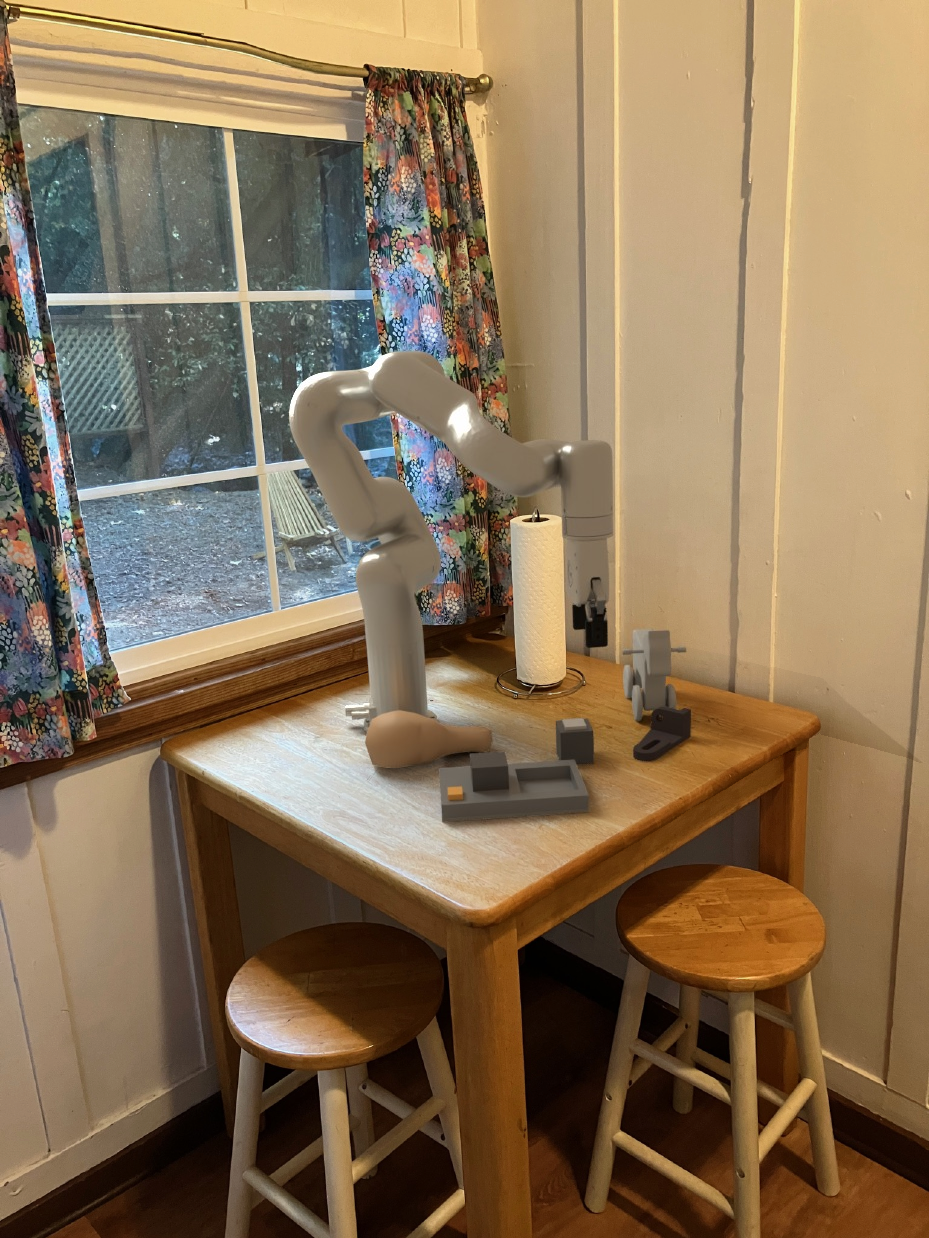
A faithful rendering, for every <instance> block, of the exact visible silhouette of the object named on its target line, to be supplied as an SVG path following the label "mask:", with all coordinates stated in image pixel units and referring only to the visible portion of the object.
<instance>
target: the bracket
mask: <svg viewBox="0 0 929 1238" xmlns="http://www.w3.org/2000/svg"><path fill="white" fill-rule="evenodd" d="M691 727H692V709H690V708H686V707H683V708H682V709H673V708H668V707H659V708H657V709H656V710H654V711H652V712H651V714H650V729H649V730H648V732H647V733H646V734H645V735H644V737H643V738H642V739H641V740H640V741H639V742H638V743H637V744H635V745H633V747H632V754H633V755H632V756H633V759H635V760H636V759H637V760H636V761H639V762H647V763H648V762H654V761H657V760H658V759H659V758H661V757H662V756H664V755H666V754H667V753H670V751H672V750H673V749H675V748H677V747H678V746H680V745H681V744H682V743H684V742H686V741H687V740H689V739H690V738H691V737H692V733H691V732H692V728H691Z"/></svg>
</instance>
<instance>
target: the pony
mask: <svg viewBox="0 0 929 1238" xmlns="http://www.w3.org/2000/svg"><path fill="white" fill-rule="evenodd" d="M671 646H672V645H671V631H670V630H669V629H668V630H667V629H666V630H665V629H664V630H654V629H653V628H646V629H645V628H644V629H634V630H632V648H622V655H623V656H624V655H625V656H626V655H632V667H631V665H630V664H625V665H624V666H623V670H622V671H623V672H622V682H623V684H622V685H623V692H624V696H625V698H626V699H631V707H632V714H633V718H634V720H635V721H636V722H640V721H642V719H643V715H644V713H643V712H644V711H647V712H648V711H652V712H653V711H654V710H656V709H657V708H659V707H668V708H673V709H677V705H678V704H677V694H676V689H675V686H674V685H673V684H672V683H668V684H667V677H670V676H671V675H672V653H686V652H687V647H686V646H677V647H671ZM677 710H678V709H677Z"/></svg>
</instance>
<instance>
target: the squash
mask: <svg viewBox="0 0 929 1238" xmlns="http://www.w3.org/2000/svg"><path fill="white" fill-rule="evenodd" d="M364 741H365V742H364V743H365V744H364V745H365V747H366V750H367V753H368V756H369V759H370V763H371V764H372V765H373V766H377V767H379V768H380V767H381V768H387V769H388V768H389V769H399V768H403V767H404V768H405V767H412V766H418V765H419V766H420V765H423V764H427V763H432V762H435V761H437V760H439V759H440V758H442V757H446V756H448V755H449V756H450V755H452V754H457V753H458V754H459V753H467V752H468V753H470V752H473V753H474V752H475V753H487V752H489V751H490V748H491V747H492V746H491V745H492V743H493V742H494V741H493V732H492V729H490V728H489V727H487V726H485V725H474V726H456V725H450V724H446V723H445V724H444V723H441V722H439V721H438V720H437V721H436V720H435V719H433V718H427V717H425V716H422V715H419V714H417V713H412V712H407V711H401V710H399V711H392V712H388V713H384V714H381V715H379V716H377V717H375V718H373V719H372V721H371V723H370V726H369V729H368V731H367V732H366V735H365V740H364Z"/></svg>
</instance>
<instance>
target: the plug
mask: <svg viewBox="0 0 929 1238" xmlns="http://www.w3.org/2000/svg"><path fill="white" fill-rule="evenodd" d="M594 735H595V734H594V728H593V726H592V725H591V722H590V721H589V719H588V718H583V717H580V718H576V717H575V718H564V719H560V720H558V719H557V720H555V746H556V748H555V749H556V750H555V751H556V755H557V759H558V760H573V759H575V762H576V764H577V766H584V765H585V766H587V764H588V765H594V764H595V748H594V745H595V741H594V739H595V737H594Z"/></svg>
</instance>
